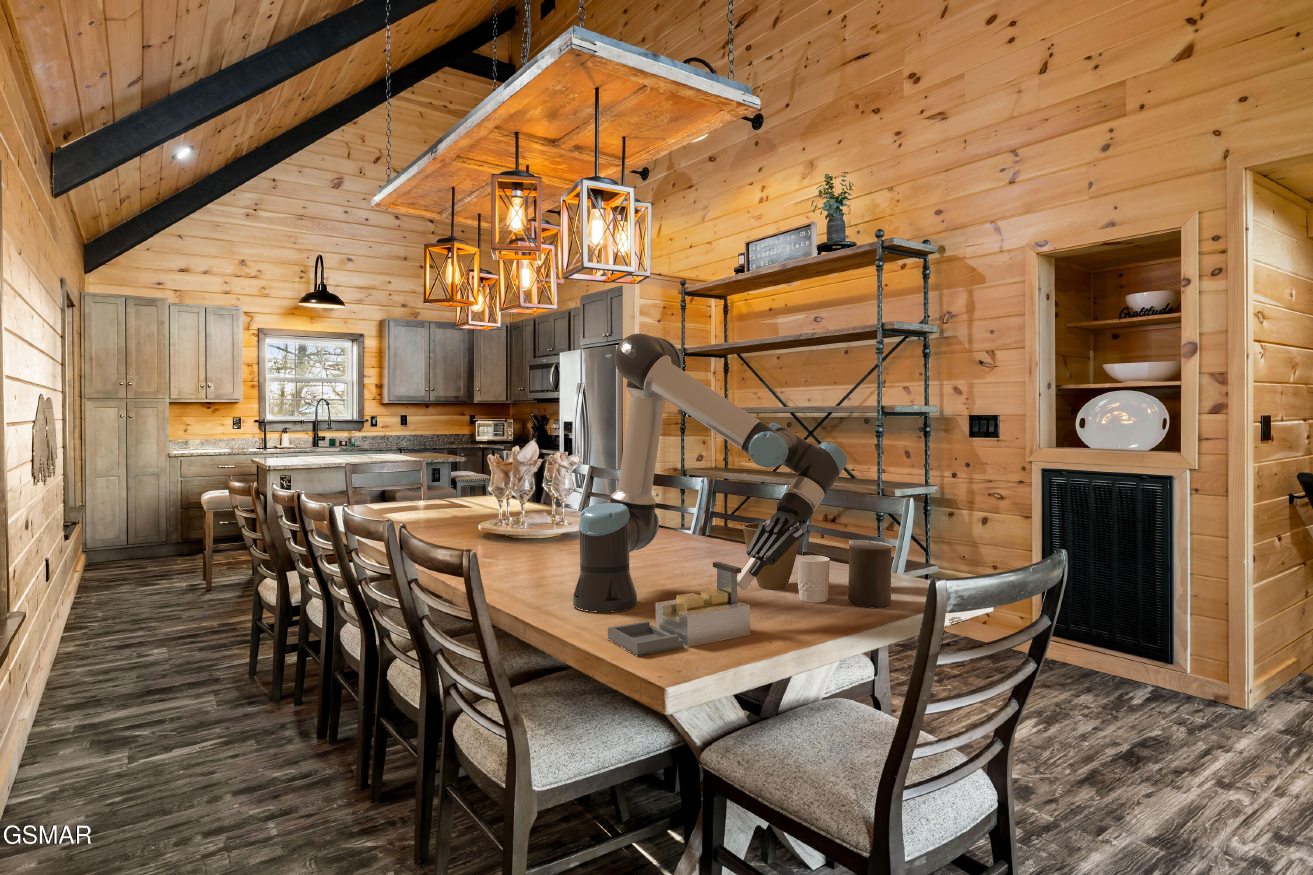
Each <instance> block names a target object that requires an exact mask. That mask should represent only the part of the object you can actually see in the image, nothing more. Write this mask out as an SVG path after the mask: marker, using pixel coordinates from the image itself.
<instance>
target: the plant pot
mask: <svg viewBox="0 0 1313 875" xmlns="http://www.w3.org/2000/svg"><path fill="white" fill-rule="evenodd" d="M758 527H759V522H752V523H747V524H743V525H742V528H743V529H742V530H743V535H744V541H745V547H746V550H747V549H748V547H749V545H750V543H751V541H752V539H753V537H754V535H755V533H756V531H757V529H758ZM799 543H800V539H798V540H797V541H796V542H795V543H794V544H793V545H792V546H791V547H790V548H789V549H788V550H787V551H786V552H785V553H784V554H783V555H782V556H781V558H780V559H779V560H778V561H777V562H776V563H775V564H774V565H770V564H767V565H766V566H764V567H763V568H762V570H761V571H760V573H759V574H758V575H757V576H756V577H755V578H754V579H755V580H756V582H757V586H758V587H759V588H762V589H767V590H781V589H786V588H787V587H788V585H789V582H790V579H791V577H792V573H793V570H794V566H795V562H796V560H797V559H796V558H797V554H798V548H799ZM772 558H773V557H772Z"/></svg>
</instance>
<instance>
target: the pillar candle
mask: <svg viewBox="0 0 1313 875" xmlns="http://www.w3.org/2000/svg"><path fill="white" fill-rule="evenodd" d="M868 541H869V543H863V542H858V543H851V544H849V543H848V546H849V547H848V593H847V594H848V595H847V596H848V597H847V599H848V602H849V604H851V605H854V606H857V607H865V608H869V607H881V608H887V607H886V606H888V607H890V606H891V605H892V548H891V546H890V545H891V544H890V545H886V544H879V543H870V541H871V539H868ZM890 604H891V605H890ZM889 605H890V606H889Z"/></svg>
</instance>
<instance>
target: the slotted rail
mask: <svg viewBox="0 0 1313 875" xmlns="http://www.w3.org/2000/svg"><path fill="white" fill-rule="evenodd" d="M750 607H751V606H750V604H746V603H744V602H740V601H739V602H737V603H733V604H727V605H721V606H715V607H709V608H703V609H697V610H691V611H685V612H679V616H677V615H676V599H670V600H665V601H658V602H655V627H656V628H658V629H661V630H663V631H665V632H667V633H669V634H671V635H675V634H676V635H678V636H679V638H680V639H682V640H683V647H687V648H690V647H694V646H695V647H696V646H701V645H705V644H711V643H715V642H719V641H725V640H731V639H736V638H742V637H746V636H750V635H751V631H750V630H751V627H750V626H751V617H750V616H751V613H750V612H751V609H750Z"/></svg>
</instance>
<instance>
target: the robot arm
mask: <svg viewBox="0 0 1313 875" xmlns="http://www.w3.org/2000/svg"><path fill="white" fill-rule="evenodd" d="M683 363H684V362H683V356H682V354H681V352H680V350H679V349H678V347H677V346H676V345H675V344H674V343H672V342H671V341H669V340H667V339H665V338H662V337H660V336H659V337H657V336H653V335H649V334H646V333H642V332H641V333H632V334H630V335H627V336H626V337H625V338H623V339H622V340H621V341H620V342H619V344H618V345H617V347H616V349H615V352H614V364H615V367H616V369H617V371H618V373H619V374H620V375H621V376H622V377H623V379H625V380H626V384H625V385H626V386H625V388H626V391H628V393H629V395H630V401H629V402H630V403H629V407H628V414H627V415H628V417H627V422H626V427H625V428H626V429H625V438H624V443H623V448H622V450H623V451H622V457H621V464H620V471H619V479H618V485H617V486H618V487H617V489H616V491H614V492H613V493H612V494H610V499H609V502H606V503H605V502H604V503H599V504H593V505H590V506H587V507H585V508H583V509H582V511H581V512H580V514H579V523H578V528H579V529H578V530H579V567H580V568H579V571H580V573H579V576H578V580H577V582H576V586H575V589H574V592H573V595H572V606H573V605H574V606H575V607H577V608H580V609H583V610H588V611H597V612H596V613H598V612H606V613H612V612H611V611H618V612H623V611H628V610H632V609H634V608H635V607H637V606H638V594H637V591H636V588H635V584H634V581H633V578H632V575H631V572H630V553H632V552H634V551H638V550H641V549H644V548H645V547H647V546H648V545H649V544H651V543H652V541H654V539H656V536H657V534H658V531H659V527H660V526H659V525H660V521H659V516H658V514H657V513H656V506H657V500H656V499H655V498H654V496H653V495H652V492H653V486H654V485H653V484H654V478H655V477H654V476H655V472H656V471H655V470H656V466H657V459H658V451H659V444H660V437H661V432H662V431H661V430H662V425H663V424H662V423H663V416H664V411H665V410H664V409H665V402H666V401H667V402H669V403H671V404H672V405H674V406H675V407H676V408H679V409H680V410H681V411H682V412H684V413H686V414H687V415H689V416H691V417H692V418H693V419H694V420H696V421H698V422H699V423H701V424H702V425H703V426H705V427H707V428H709V429H710V430H711V431H713V432H714V433H716V434H717V435H719V436H720V437H722V438H723V439H724V440H726V441H727V442H729V443H730V444H732V445H734V446H735V447H737V448H738V449H740V450H741V451H742V452H744V453H745V454H747V455H748V456H749V457H750V460H752V461H753V463H754V464H756V465H757V466H759V467H761V468H766V469H770V468H776V467H779V466H781V465H782V466H784V467H785V468H788V469H789V470H791V472H794V473H795V474H797V475H796V477H795V478H794V480H793V481H792V482H791V483H790V485H789V486H788V488H787V489H786V492H784V493H783V494H782V496H781V498H780V499H779V501H778V502H777V504H776V512H775V513H774V514H772V516H771V517H770V519H767V520H765V519H763V518H762V519H759V521H758V523H759V527H758V529H757V531H756V533H755V535H754V537H753V539H752V541H751V543H750V545H749V547H748V549H747V548H746V550H745V554H747V556H748V560H747V561H746V563H745V564H744V566H743V567H741V573H738V574H737V587H738V588H739V589H741V590H743V591H746V590H747V589H748V588H749V586H750V585H751V584H752V582H753V581H754V579H756V578H755V577H756V576H757V575H758V574H759V573H760V571H761V570H762V568H763V567H764V566H766V565H767V564H770V565H774V564H775V563H776V562H777V561H778V560H779V559H780V558H781V556H782V555H783V554H784V553H785V552H786V551H787V550H788V549H789V548H790V547H791V546H792V545H793V544H794V543H795V542H796V541H797V540H798V539H799V540H800V539H801V538H802V537H804V536H805V532H804V531H803V530H802V529H801V527H802V526H804V525H806V524H807V522H808V521H809V519H810V518H811V516H813V514H814V511H815V510H817V508H818V507H819V505H820V503H821V502H822V501H823V499H824V498H825V496H826V495H827V494H828V492H829V491H830V489H831V488H832V487H833V486H834V484H835V482H836V481H837V480H838V479H839V477H840V475H841V473H842V472H843V470H844V469H845V467H846V466H847V465H848V456H847V455H846V453H845V451H844V450H843V449H842V448H841V447H840V446H838V445H837V444H835V443H830V442H829V441H823V442H821V443H819V445H817V446H816V445H814V444H813V443H810V442H809V441H807V440H805V439H804V438H802V437H801V436H799V435H797V434H795V433H794V432H792V431H791V430H789V429H788V428H787V427H785V426H782V425H780V424H778V423H776V422H771V423H770V424H768V425H767V424H766V423H764V422H762V421H761V420H759V418H757V417H755V416H753V415H751V414H750V413H748V411H746V410H744V409H743V408H741V407H740V406H738V405H736V404H735V403H733V402H732V401H731V400H729V399H728V398H726V397H724V396H723V395H721V394H720V393H718V392H717V391H715V390H713V389H712V388H710V387H709V386H707V385H706V384H704V383H702V381H699V380H698V379H696V378H695V377H693V376H692V375H690V374H689V373H687V372H685V371H684V370H683V366H684V365H683ZM772 557H773V558H772Z"/></svg>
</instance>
